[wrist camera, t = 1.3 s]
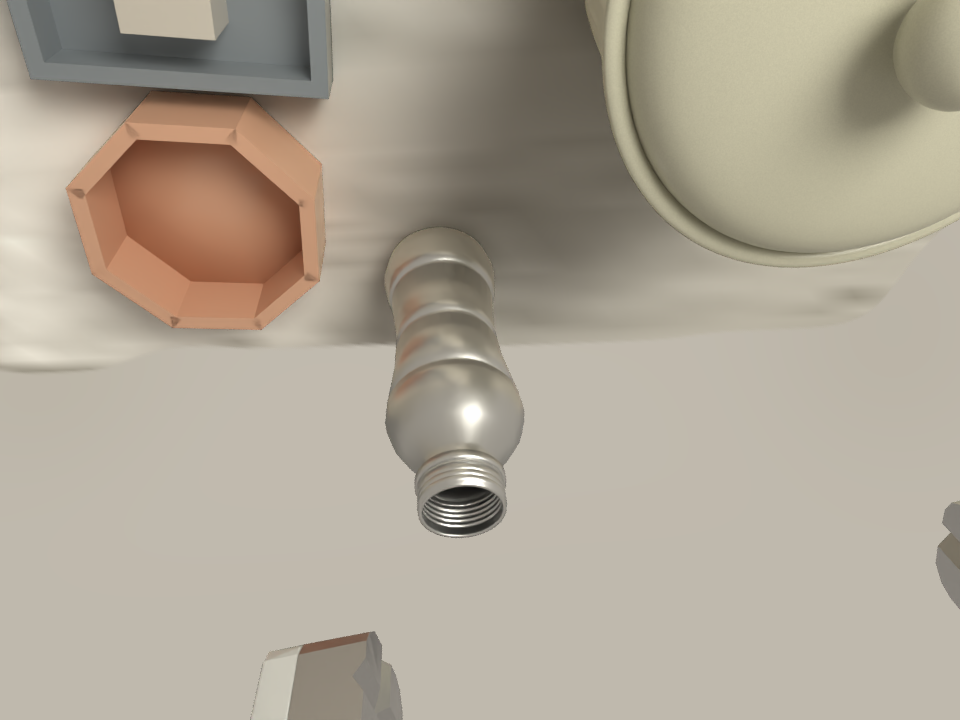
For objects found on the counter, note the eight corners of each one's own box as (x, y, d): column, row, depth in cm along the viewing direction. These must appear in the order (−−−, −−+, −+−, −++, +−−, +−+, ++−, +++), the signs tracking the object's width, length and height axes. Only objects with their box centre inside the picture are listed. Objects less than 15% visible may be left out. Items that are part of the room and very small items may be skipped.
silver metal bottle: (383, 212, 41) (377, 460, 26) (495, 214, 42) (553, 456, 26) (385, 301, 45) (380, 561, 30) (487, 301, 46) (533, 555, 30)
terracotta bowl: (78, 85, 35) (43, 117, 31) (318, 101, 36) (310, 133, 33) (131, 283, 42) (107, 326, 39) (328, 289, 44) (322, 331, 40)
